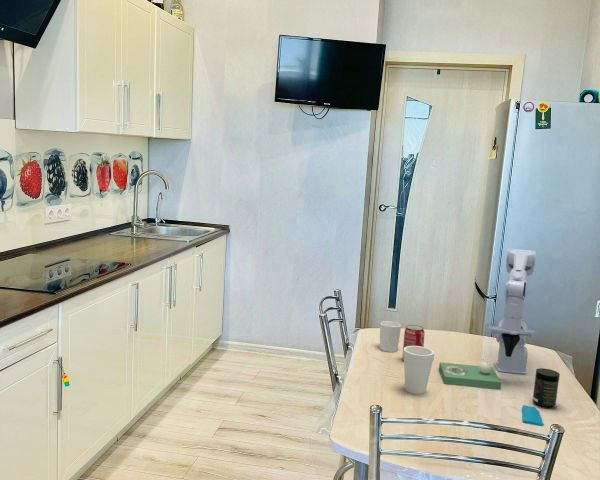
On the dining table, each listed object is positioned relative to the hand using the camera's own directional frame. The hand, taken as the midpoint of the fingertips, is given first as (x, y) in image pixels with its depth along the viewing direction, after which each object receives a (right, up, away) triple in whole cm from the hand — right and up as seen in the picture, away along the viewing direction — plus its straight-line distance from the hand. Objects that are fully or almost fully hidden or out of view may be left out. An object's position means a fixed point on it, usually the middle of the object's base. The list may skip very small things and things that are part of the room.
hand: (508, 355), depth 196 cm
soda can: (-29, -6, +16) cm, 34 cm away
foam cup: (-33, -9, -10) cm, 36 cm away
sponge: (-2, -13, -25) cm, 28 cm away
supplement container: (+5, -12, -15) cm, 20 cm away
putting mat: (-13, -8, +3) cm, 15 cm away
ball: (-7, -4, +1) cm, 9 cm away
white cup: (-36, -3, +29) cm, 46 cm away
